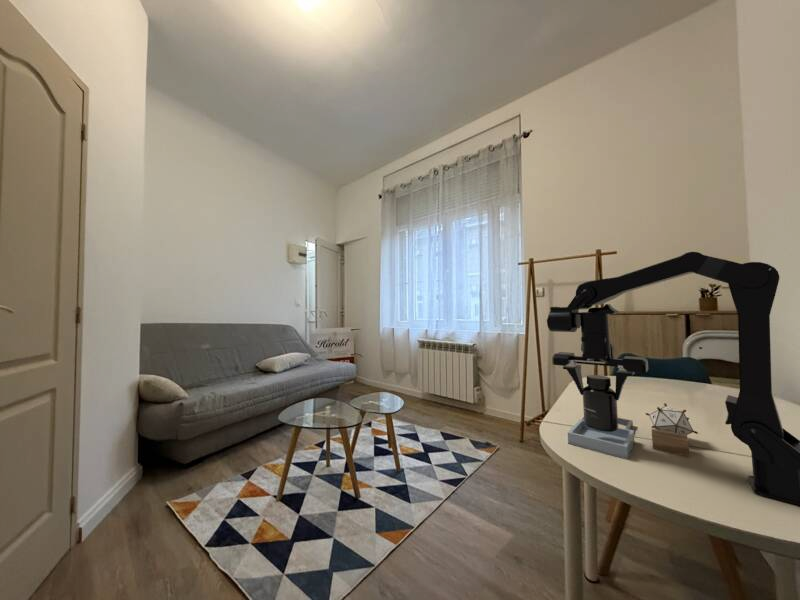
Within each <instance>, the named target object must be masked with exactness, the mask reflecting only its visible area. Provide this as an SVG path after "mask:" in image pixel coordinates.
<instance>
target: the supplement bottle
mask: <svg viewBox="0 0 800 600" xmlns="http://www.w3.org/2000/svg"><path fill="white" fill-rule="evenodd" d="M586 384H587V385H586V386H583V387H584V389H583V395H582V405H583V406H582V407H583V409H582V410H583V417H584V423H585V425H586V426H588V427H589V428H592V429H594V430H598V431H604V432H613V431H616V430H617V429H618V427H619V424H618V418H619V417H618V416H619V415H618V400H616V395H615V390H614V389H613V388H611V386H612V382H611V377H609V376H606V375H599V374H598V375H597V374H590V375H589V374H588V375H586Z"/></svg>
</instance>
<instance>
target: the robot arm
mask: <svg viewBox="0 0 800 600" xmlns="http://www.w3.org/2000/svg"><path fill="white" fill-rule="evenodd" d="M690 274H694V275H695V274H696V275H698V276H699V275H700V276H703V277H706V278H709V279H712V280H715V281H718V282H722V283H725V284H728V288H729V291H730V294H731V297H732V302H733V304H734V307H735V310H736V314H737V322H738V323H737V326H738V327H737V328H738V331H737V332H738V335H737V336H738V361H739V362H738V363H739V366H738V367H739V373H738V374H739V392H738V395H737V396H733V395H729V394H728V395H727V396H726V399H725V401H724V403H725V408H726V412H727V415H726V419H725V422H724V423H725V425H730V429H731V432H732V434H733V435H734V437H736V439H738V440H739V441H740V442H741V443H743V444H745V445H747V447H748V448H749V450H750V452H751V455H750V456H751V462H752V463H751V464H752V465H751V467H752V475H748V476H747V479H748V481H749V485H750V487H751V490H752V492H753V493H754V494H756V495H760V496H763V497H765V498H766V497H767V498H770V499H774V500H779V501H782V502H786V503H788V504H789V503H790V504H794V505H796V506H797V505H798V506H800V439H798V438H797V437H796V436H794V435H793V434H791V433H790V432H789V431H787V430H786V429H785V428H784V427H783V424H782V421H781V418H780V415H779V411H778V408H777V405H776V402H775V398H774V395H773V391H772V390H773V389H772V357H771V356H772V355H771V351H772V350H771V322H770V320H771V319H770V318H771V313H772V309H773V305H774V301H775V297H776V293H777V289H778V286H779V282H780V274H779V271H778V270H777V268H775V267H774V266H772V265H771V264H768V263H765V262H761V261H750V262H749V261H748V262H744V263H739V262H736V261H733V260H727V259H723V258H719V257H714V256H709V255H706V254H702V253H701V252H698V251H689V252H685V253H683V254H681V255H679V256H677V257H674V258H671V259H667V260H665V261H662V262H659V263H655V264H652V265H649V266H647V267H643V268H640V269H638V270H634V271H631V272H628V273H624V274H622V275H618V276H615V277H614V276H613V277H610V278H600V279H594V280H590V281H584V282H582V283H580V284H579V285H578V286H577V288H576V289H575V295H574V297H573V298H572V300H571V301H570V303H568V305H567V306H562V307H561V306H551V307H550V309H549V310H550V311H549V313H548V314H547V319H546V325H547V328H548V330H549V331H550V332H551V333H552V332H553V333H555V332H558V333H559V332H560V333H575V332H576V331H577V330H578V329H580V332H581V337H580V340H581V344H580V346H581V347H580V350H581V352H582V356H581V355H580V356H578V355H576V354H575V352H565V351H560V352H555V353H554V354H553V355H552V358H551V359H552V365H554V366H561V367H562V369H563V370H566V371H567V372H568V374H569V375H570V376H571V378H572V380H573V381H574V384H575V386H576V387H577V389H578V391H579V393H580V395H581V396H583V389H584V387H585V386H584V383H583V376H582V365H591V366H603V367H604V366H606V367H616V368H617V369H618V370H616V372H615V390H614V391H615V395H616V400H617V401H619V400H620V398H621V394H622V391H623V388H624V385H625V382H626V380H627V378H628V377H629V376H630V377H631V376H633V375H634V374H635V373H641V374H646V373H647V372H648V371H649V361H648V359H647V358H646V357H645V356H629V355H625V356H624V357H623V358H615V348H614V345H613V344H612V343H611V338H610V337H611V336H610V325H609V324H610V323H609V315H611V314H612V315H613V314H615V315H616V314H617V315H618V314H619V310H618V309H616V308H614V307H613V306H612V305H611V304H610V303H607V302H609V301H612V300H614V299H616V298H618V297H620V296H621V295H624V294H626V293H628V292H631V291H635V290H638V289H641V288H645V287H649V286H651V285H655V284H660V283H662V282H665V281H670V280H673V279H676V278H679V277H683V276H686V275H690ZM605 303H606V304H605ZM604 304H605V305H604ZM601 305H604V306H601ZM593 306H601V307H593ZM580 310H588V311H585V312H582V311H581V312H579V311H580Z"/></svg>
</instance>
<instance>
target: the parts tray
mask: <svg viewBox="0 0 800 600" xmlns="http://www.w3.org/2000/svg"><path fill="white" fill-rule="evenodd" d="M635 440H636V439H635V430H633V429H631V430H628V429H626V428H622V427H619V426H618V429H617V430H616V431H613V432H604V431H598V430H594V429H592V428H589V427H588V426H586V425H585V423H584V420H581V419H579V420H578V421H577V422H576V423H575V424H574V425H573V426H572V428H570V429H569V430H568V431H567V444H568V445H573V446H576V447H580V448H584V449H587V450H591V451H595V452H599V453H602V454H606V455H610V456H614V457H617V458H622V459H625V460H628V459H629V457H630V456H631V452H632V450H633V447H634V445H635Z"/></svg>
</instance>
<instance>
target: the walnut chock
mask: <svg viewBox="0 0 800 600" xmlns="http://www.w3.org/2000/svg"><path fill="white" fill-rule="evenodd" d="M651 437H652V438H651V440H652V450H655V451H660V452H664V453H670V454H674V455H678V456H682V457H683V456H684V457H688V458H691V454H690V453H691V452H690V440H689V437H688V435H684V434H679V433H673V432H667V431H662V430H656V429H655V428H651Z"/></svg>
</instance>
